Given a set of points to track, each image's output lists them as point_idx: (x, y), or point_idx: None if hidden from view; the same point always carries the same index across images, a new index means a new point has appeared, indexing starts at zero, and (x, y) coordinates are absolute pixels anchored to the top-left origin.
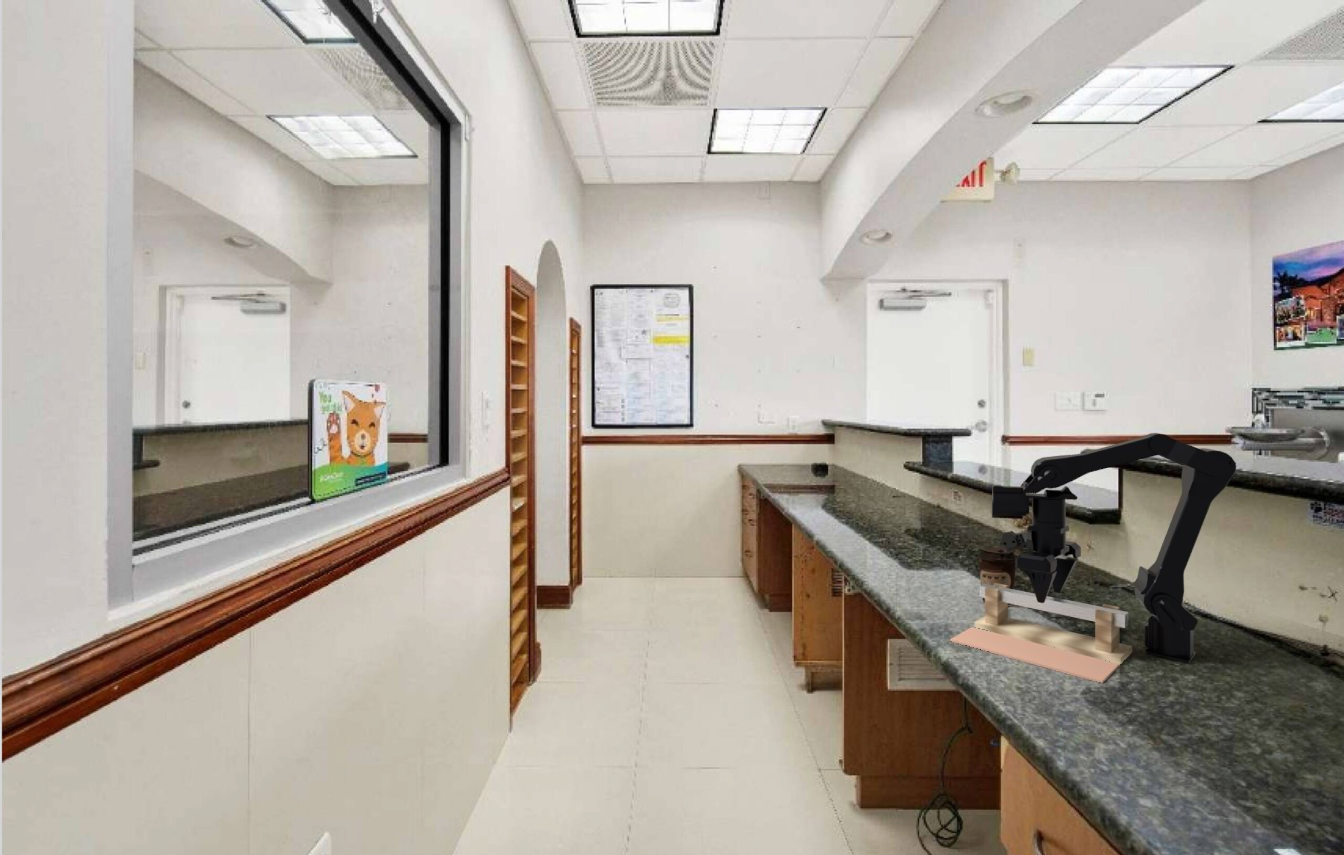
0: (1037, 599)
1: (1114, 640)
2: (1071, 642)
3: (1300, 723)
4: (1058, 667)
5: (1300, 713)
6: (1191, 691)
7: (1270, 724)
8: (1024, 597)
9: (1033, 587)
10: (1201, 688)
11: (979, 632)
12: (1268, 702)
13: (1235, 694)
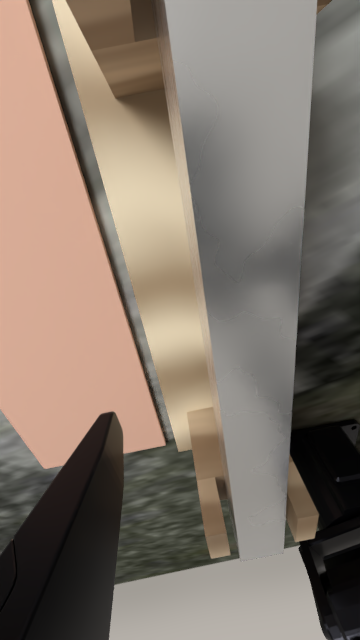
0: (93, 428)
1: None
2: (186, 365)
3: (167, 562)
4: (12, 409)
5: (198, 555)
6: (157, 510)
7: (134, 558)
8: (198, 264)
9: (25, 527)
10: (182, 510)
11: None
12: (204, 541)
13: (199, 526)
